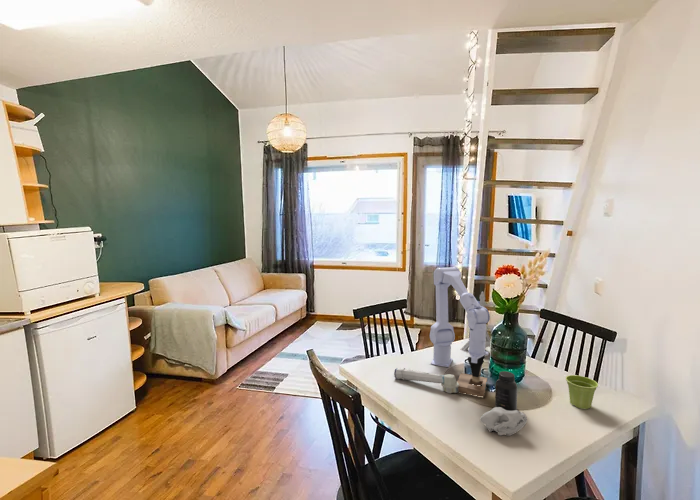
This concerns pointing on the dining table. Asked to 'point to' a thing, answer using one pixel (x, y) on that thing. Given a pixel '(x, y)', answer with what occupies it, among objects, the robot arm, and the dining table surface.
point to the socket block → (467, 386)
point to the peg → (475, 379)
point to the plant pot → (581, 390)
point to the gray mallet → (429, 378)
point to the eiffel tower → (487, 339)
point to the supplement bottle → (506, 391)
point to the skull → (503, 420)
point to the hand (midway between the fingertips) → (476, 374)
